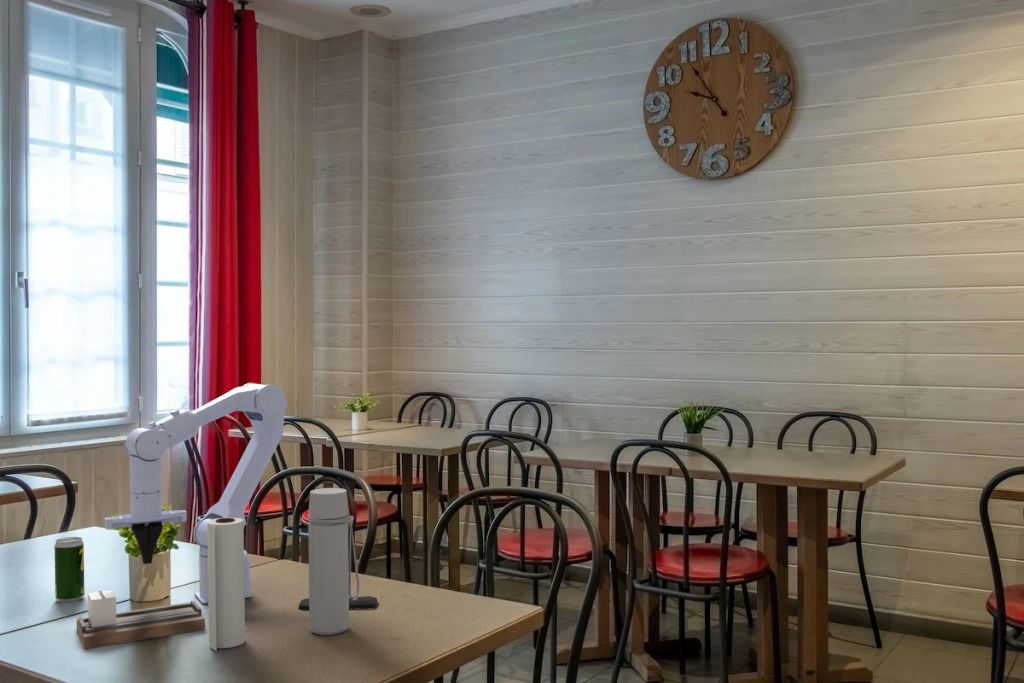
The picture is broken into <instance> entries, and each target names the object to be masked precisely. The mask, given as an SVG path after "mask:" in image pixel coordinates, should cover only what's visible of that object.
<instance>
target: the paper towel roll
mask: <svg viewBox="0 0 1024 683" xmlns="http://www.w3.org/2000/svg"><path fill="white" fill-rule="evenodd" d="M244 529H245V526H244V524H243V519H241V518H218V519H213V520H209V521H208V522H207V538H208V603H207V606H208V646H209V647H210V649H211V650H214V651H215V653H218V652H217V649H229V648H230V649H231V648H234V647H238V646H240V645H243V644H244V643H245V642H246V615H245V614H246V612H245V609H246V607H245V606H246V604H245V602H246V601H245V600H246V598H244V550H245V543H244V542H245V540H244V539H245V538H244V537H245V536H244V534H245V533H244Z"/></svg>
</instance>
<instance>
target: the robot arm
mask: <svg viewBox="0 0 1024 683" xmlns="http://www.w3.org/2000/svg"><path fill="white" fill-rule="evenodd" d="M288 405H289V403H288V402H287V398H286V396H285V393H284V391H283V390H282V389H281V387H279V386H277V385H276V384H261V383H256V382H248V383H246V384H244V385H242V386H237V387H234V388H233V389H231V390H229V391H228V392H226V393H224V394H223V395H221V396H219V397H217V398H215V399H213V400H211V401H209V402H207V403H205V404H204V405H202V406H200V407H199V408H197V409H194V410H192V411H189V410H186V409H181V410H179V409H173V410H171V411H170V415H168V416H166V417H164V418H162V419H159V420H158V421H150V422H149V423H147V425H148V426H147V428H144V427H140V428H135V429H133V430H132V431H131V432H129V435H128V436H126V440H125V442H124V443H123V448H124V451H125V453H126V454H127V455H128V456H129V512H130V513H128V514H123V515H117V516H109V517H104V529H105V530H112V529H117V528H118V529H120V528H129V527H130V530H131V531H132V534H133V536H134V538H135V540H136V543H137V545H138V548H139V552H140V554H141V561H142V563H143V564H144V565H148V564H152V563H153V556H154V552H155V549H156V545H157V543H158V541H159V538H160V536H161V535H162V532H163V530H164V525H163V524H165V523H166V524H167V523H176V522H181V523H183V522H184V523H185V522H187V521H188V520H187V519H188V518H187V516H188V514H187V512H188V511H187V510H185V509H180V510H163V491H162V490H163V489H162V474H163V473H162V457H163V456H164V455H165V453H166V451H167V450H169V449H171V448H173V447H176V446H177V445H179V444H181V443H184V442H186V441H187V440H190V439H191V438H193V437H195V436H196V435H197V434H198V432H199V430H200V427H201V426H204V425H206V424H209V423H211V422H213V421H216V420H218V419H220V418H223V417H225V416H227V415H229V414H231V413H233V412H242V413H243V414H244V415H245V416H246V417H247V419H248V420H249V421H250V423H251V424H250V425H251V426H252V429H253V434H252V437H251V439H250V440H249V442H248V445H247V446H246V448H245V451H244V452H243V454H242V456H241V458H240V460H239V462H238V464H237V466H236V468H235V470H234V472H233V474H232V475H231V478H230V479H229V481H228V483H227V485H226V487H225V489H224V491H223V493H222V495H221V497H220V499H219V501H217V502H216V503H215V504H214V505H212V506H211V507H210V508H209V509H208V510H207V512H206V514H205V515H204V517H202V518H201V519H200V520H198V522H196V524H195V526H194V529H193V540H194V542H195V543H196V544H197V545H198V546H199V550H198V553H199V555H198V559H199V560H198V562H199V564H198V565H199V566H198V567H199V568H198V569H199V591H195V592H194V596H195V597H196V598H197V600H199V602H200V603H201V604H208V538H207V522H208V521H209V520H213V519H218V518H241V519H243V524H244V527H245V526H246V524H247V521H246V518H245V517H246V516H245V511H246V509H247V506H248V505H249V502H250V501H251V499H252V497H253V495H254V493H255V491H256V489H257V487H258V485H259V483H260V481H261V479H262V477H263V475H264V473H265V471H266V469H267V467H268V466H269V463H270V461H271V459H272V457H273V456H274V453H275V451H276V449H277V447H278V445H279V443H280V442H281V439H282V437H283V434H284V426H285V425H284V423H285V422H284V420H285V411H286V409H287V407H288ZM250 575H251V574H250V560H249V555H248V552H247V550H245V549H244V598H245V599H247V598H251V592H250V591H251V590H250V589H251V585H250V584H251V583H250V579H251V578H250Z"/></svg>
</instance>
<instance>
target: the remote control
mask: <svg viewBox="0 0 1024 683" xmlns="http://www.w3.org/2000/svg"><path fill="white" fill-rule="evenodd" d="M355 597H356V596H352V598H355ZM376 605H377V606H378V598H377V597H374V596H370V595H369V596H365V595H364V596H358V599H357V600H352V599H351V598H350V597H349V610H355V609H354V608H374V609H376V608H377V606H376ZM375 607H376V608H375ZM351 608H352V609H351ZM298 610H300V611H309V597H308V598H303V599H301V601H300V602H299V604H298Z"/></svg>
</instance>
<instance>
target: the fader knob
mask: <svg viewBox="0 0 1024 683" xmlns="http://www.w3.org/2000/svg"><path fill="white" fill-rule="evenodd" d="M87 611H88V612H87V613H88V614H87V615H88V616H87V617H88V620H89V623H90V625H91V627H92V628H93V627H100V626H107V625H113V624H116V613H117V596H116V594H115V592H114V591H113V590H110V589H109V590H104V591H103V590H98V591H95V592H89V593H87Z"/></svg>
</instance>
